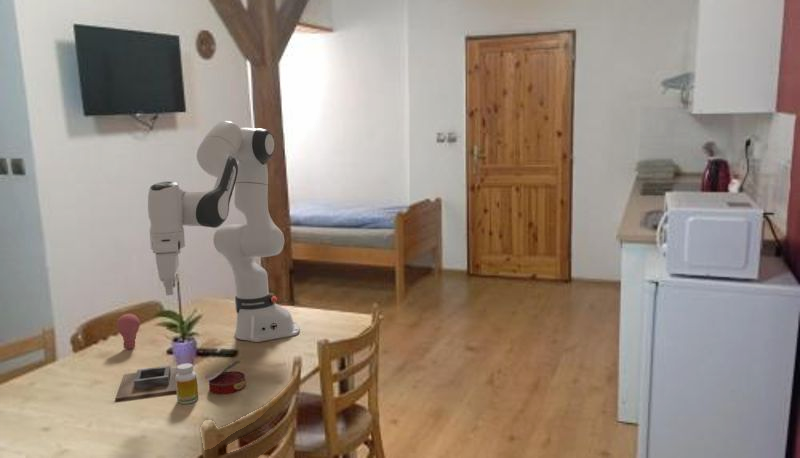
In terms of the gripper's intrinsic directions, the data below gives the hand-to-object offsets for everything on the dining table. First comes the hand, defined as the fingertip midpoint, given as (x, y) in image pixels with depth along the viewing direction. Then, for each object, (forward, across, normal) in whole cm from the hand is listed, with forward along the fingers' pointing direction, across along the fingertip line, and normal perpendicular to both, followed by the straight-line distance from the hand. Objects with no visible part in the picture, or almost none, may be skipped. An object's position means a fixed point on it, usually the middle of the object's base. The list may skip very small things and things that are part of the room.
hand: (171, 290), depth 181 cm
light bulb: (+28, -40, -17) cm, 52 cm away
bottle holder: (+28, -6, -7) cm, 29 cm away
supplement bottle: (+29, +9, +3) cm, 30 cm away
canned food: (+28, +4, +14) cm, 32 cm away
